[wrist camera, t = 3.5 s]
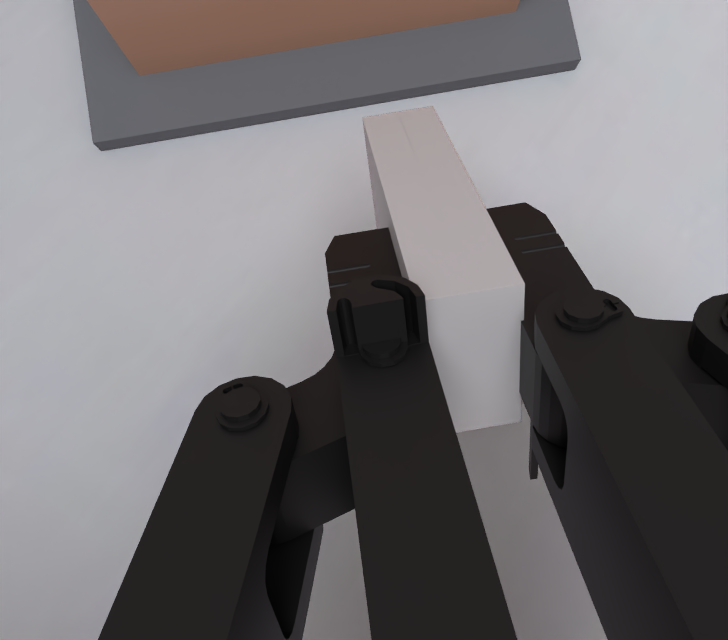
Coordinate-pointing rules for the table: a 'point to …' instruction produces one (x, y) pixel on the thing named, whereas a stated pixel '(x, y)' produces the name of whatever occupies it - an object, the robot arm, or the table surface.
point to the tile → (264, 25)
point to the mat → (315, 74)
